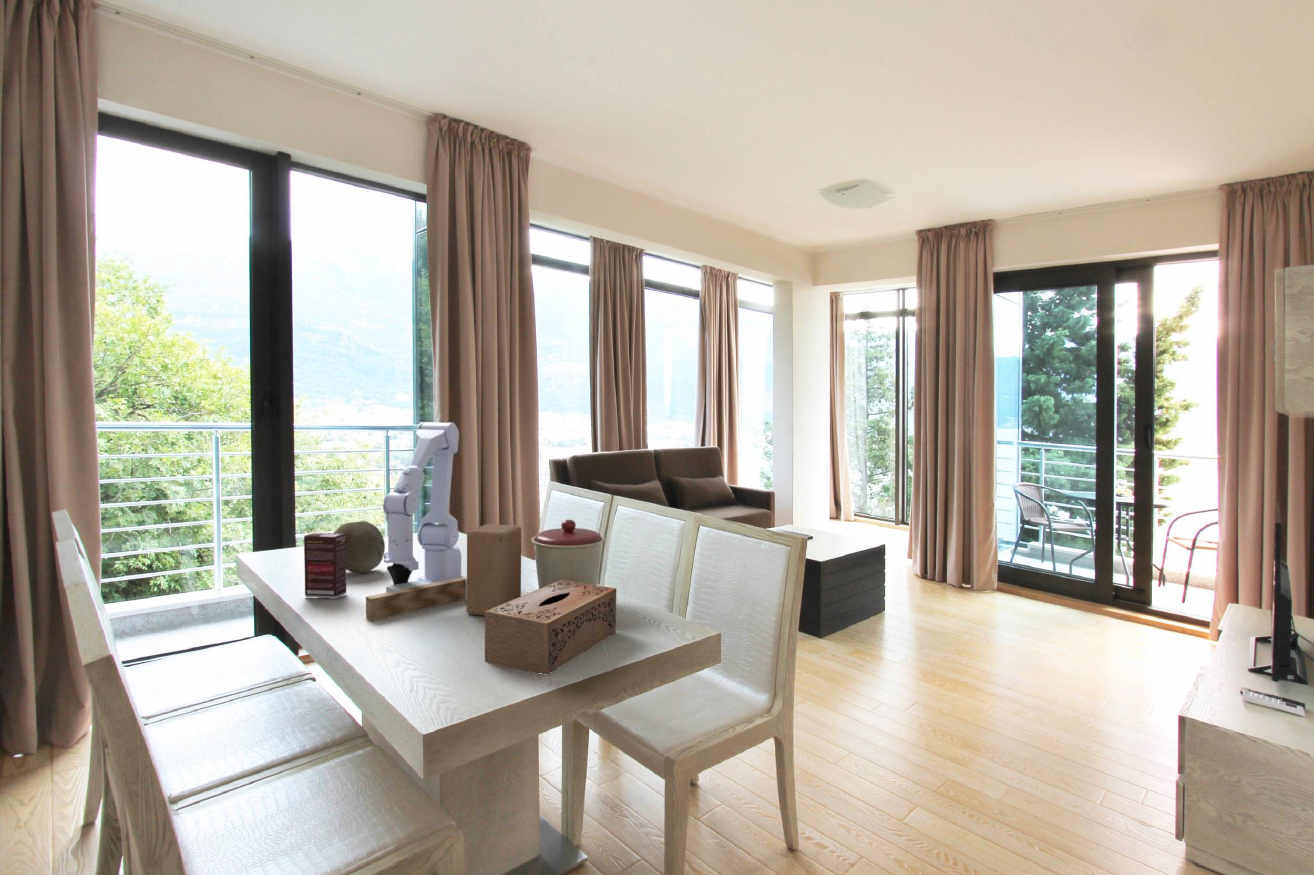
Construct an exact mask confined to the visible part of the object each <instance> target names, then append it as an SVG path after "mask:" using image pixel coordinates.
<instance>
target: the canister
mask: <svg viewBox="0 0 1314 875" xmlns="http://www.w3.org/2000/svg"><path fill="white" fill-rule="evenodd" d="M576 525H577V524H576V522H575V521H574V520H573V519H565V520H563V521H562V522H561V524H560V526H561V528H551V529H547V530H543V531H540V532H538V533H537V534H536V535H534V536H533V537H531V539H530V540H531V542H532V544H533V546H534V556H535V557H534V558H535V566H536V574H537V576H536V577H537V582H538V583H537V585H538V589H540V588H542V587H545V586H547V585H550V584H552V583H554V582H557V581H559V580H566V581H573V582H579V583H585V584H592V585H598V581H599V580H598V579H599V572H600V563H601V556H602V548H603V547H602V546H603V544H604V543H605V540H606V538H605V536H603V535H601V534H600V533H599V532H597V531H595V530H592V529H586V528H579V527H578V528H577V526H576Z"/></svg>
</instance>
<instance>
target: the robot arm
mask: <svg viewBox="0 0 1314 875" xmlns="http://www.w3.org/2000/svg"><path fill="white" fill-rule="evenodd" d="M415 439H416V443H417V444H416V447H415V449H414V452H413V455H412V459H411V462H410V463H409V466H406V467H404V468H403V469H402V471H401V473H400V476H399V478H398V480H397V482H396V484H395V486H394V487H393V491H391V492H389V493H388V494H387V495H385V497H384V500H383V504H382V509H383V512H384V514H385V521H386V522H387V526H388V527H387V528H388V529H387V531H388V532H387V533H388V534H387V536H388V537H387V538H388V539H387V540H388V543H387V544H388V546H387V549H388V551H386V552H384V555H383V563H386V564H392V565H388V566H387V567H386V570H387V572H388V573H389V575H390V578H391V581H392V583H393V585H396V584H401V583H407V582H409V579H410V577H411V575H412V573H413V571H416V570H419V569H420V568H419V563H420V562H419V561H418V560H416V558H415V556H414V538H413V537H414V515H415V513H416V512H417V510H418V506H419V492H420V491H421V488H422V485H423V483H424V480H425V479H426V478H425V477H426V475H425V473H424V470H425V468H426V466H427V464H428V463H429V461H430V459H431V458H432V456H433V459H434V460H433V467H432V481H431V492H430V502H429V504H430V505H429V513H427V514H426V515H425V516H423V517H422V518H421V519H420V524H419V527H418V530H417V541H418V543H419V545H420V546H421V549H422V550H424V575H422V576H419V577H418V578H417V579H418V580H423V581H426V582H428V583H436V582H441V581H446V580H451V579H456V578H463V577H464V576H462V553H461V550H460V548H459V546H456V545H457V543H458V541H459V536H460V535H459V529H458V528H459V527H458V525H459V523H458V522H459V521H458V520H457V519H456V518H455V516H453V515H452V514H451V513H450V512H449V510H450V500H451V499H450V498H451V486H452V476H453V463H454V454H456V453H458V449H459V440H460V431H459V429H458V427H457V425H456V423H454V422H430V421H429V422H428V421H427V422H426V421H421V422H420V423H419V424H418V426H417V427H416V432H415ZM434 523H437V524H434Z"/></svg>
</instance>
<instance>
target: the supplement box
mask: <svg viewBox="0 0 1314 875" xmlns="http://www.w3.org/2000/svg"><path fill="white" fill-rule="evenodd" d="M303 539H304V540H303V550H304V554H303V556H304V597H305V596H306V597H318V598H331V599H330V600H338V599H340V598H342V597H343V596H342V595H344V594H346V595H347V570H346V534H338V533H334V532H333V533H332V532H331V533H330V532H312V533H309V534H306V535H303ZM341 596H342V597H341ZM344 596H345V595H344ZM339 597H340V598H339ZM332 598H333V599H332ZM337 598H338V599H337Z"/></svg>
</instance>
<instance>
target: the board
mask: <svg viewBox="0 0 1314 875" xmlns="http://www.w3.org/2000/svg"><path fill="white" fill-rule="evenodd" d="M462 600H463V601H464V600H467V578H456V579H451V580H446V581H441V582H436V583H431V584H426V585H422V586H417V587H412V588H407V589H402V590H397V591H392V592H387V593H386V592H384V593H378V594H374V595H368V596H366V597H365V619H366V620H368V621H370V622H373V621H377V620H382V619H385V618H386V619H387V618H390V617H394V616H398V615H402V614H407V613H411V612H415V611H419V610H423V609H425V610H426V609H428V608H433V607H437V606H441V605H447V604H450V603H454V602H458V601H462Z"/></svg>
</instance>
